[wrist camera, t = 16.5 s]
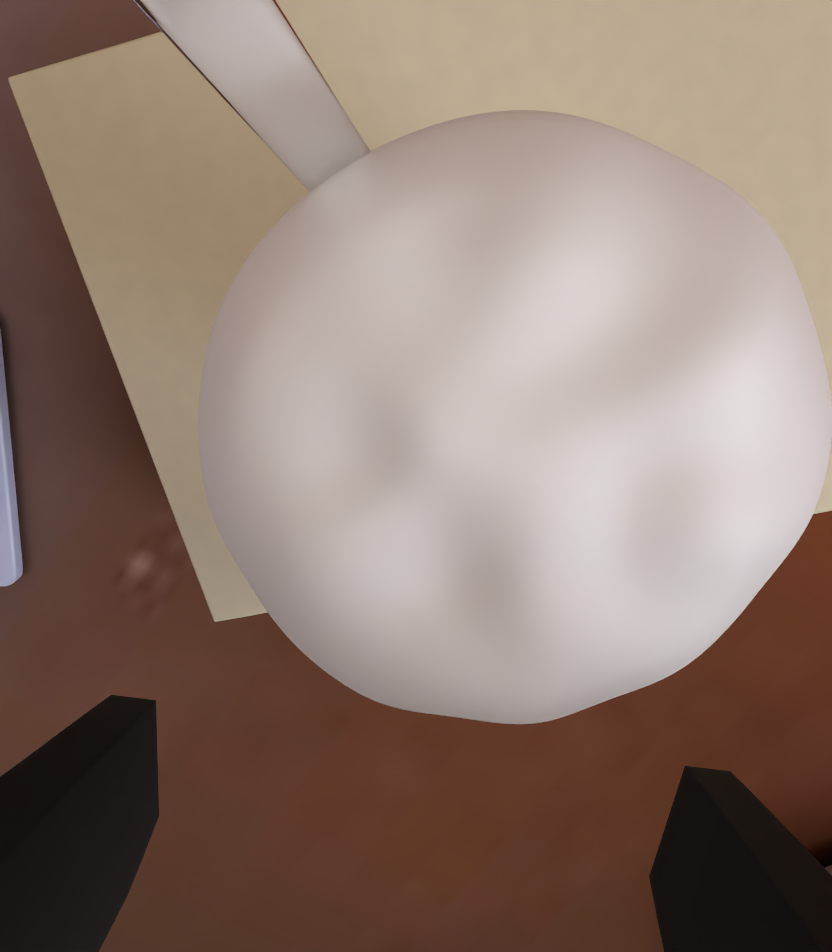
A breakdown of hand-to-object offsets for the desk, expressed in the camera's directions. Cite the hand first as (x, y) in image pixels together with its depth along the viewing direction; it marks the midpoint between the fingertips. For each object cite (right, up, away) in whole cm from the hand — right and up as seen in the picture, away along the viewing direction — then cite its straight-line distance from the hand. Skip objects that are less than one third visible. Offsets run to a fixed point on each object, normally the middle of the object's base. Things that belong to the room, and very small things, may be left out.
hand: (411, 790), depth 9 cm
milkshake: (+1, +8, +4) cm, 8 cm away
